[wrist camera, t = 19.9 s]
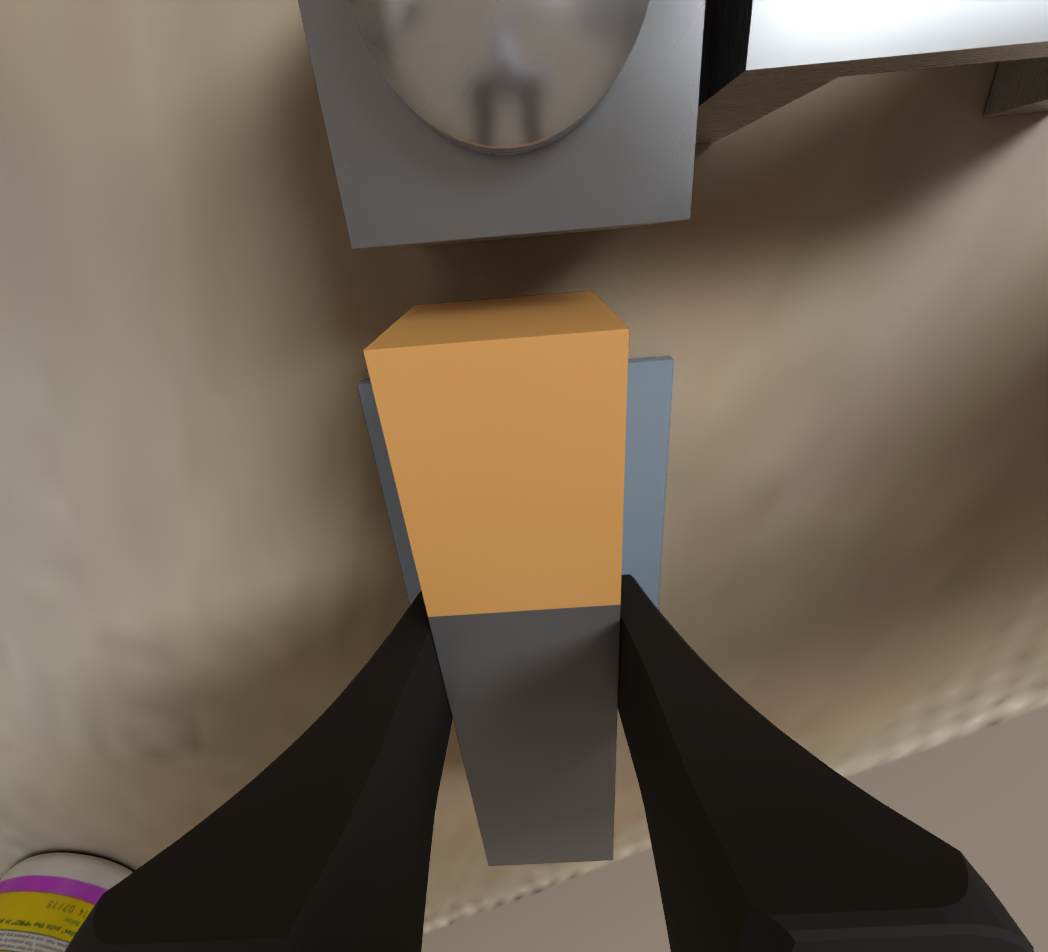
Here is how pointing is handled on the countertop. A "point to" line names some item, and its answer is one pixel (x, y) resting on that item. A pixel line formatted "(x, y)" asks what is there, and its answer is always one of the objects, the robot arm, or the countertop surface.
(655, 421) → the mat
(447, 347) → the plug
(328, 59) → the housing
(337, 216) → the countertop surface
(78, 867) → the supplement bottle
